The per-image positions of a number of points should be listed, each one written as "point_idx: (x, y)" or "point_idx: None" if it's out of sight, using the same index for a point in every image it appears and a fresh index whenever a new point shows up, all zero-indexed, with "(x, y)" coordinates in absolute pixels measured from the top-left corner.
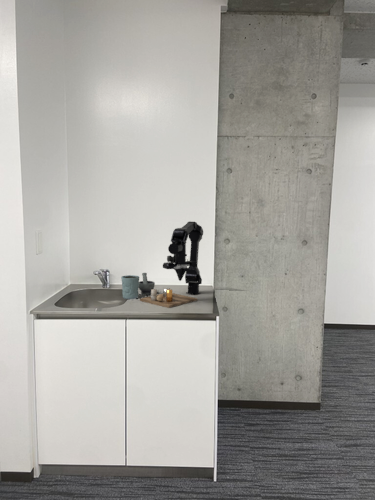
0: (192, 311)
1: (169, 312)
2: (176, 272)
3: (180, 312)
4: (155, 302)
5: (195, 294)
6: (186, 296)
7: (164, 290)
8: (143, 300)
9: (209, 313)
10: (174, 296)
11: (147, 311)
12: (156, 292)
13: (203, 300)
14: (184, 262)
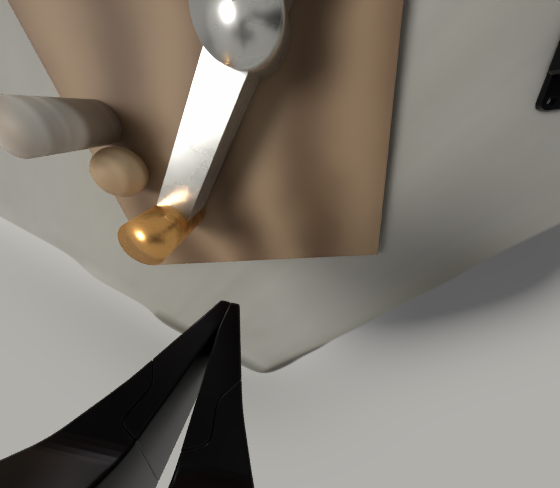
0: None
1: (139, 299)
2: (108, 401)
3: (176, 318)
4: None
5: (556, 107)
6: (373, 172)
7: (200, 31)
8: (31, 30)
9: (252, 368)
10: (301, 108)
11: (56, 243)
12: (60, 150)
13: (398, 266)
14: None
